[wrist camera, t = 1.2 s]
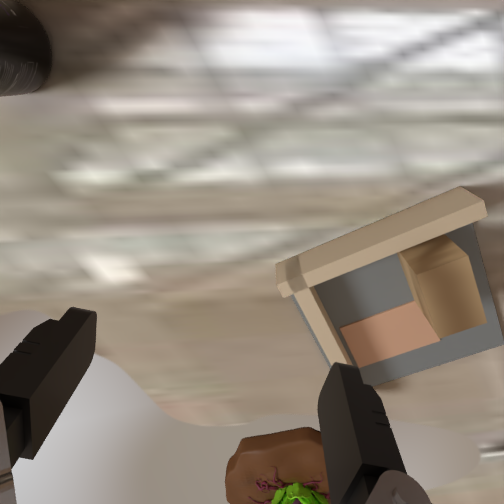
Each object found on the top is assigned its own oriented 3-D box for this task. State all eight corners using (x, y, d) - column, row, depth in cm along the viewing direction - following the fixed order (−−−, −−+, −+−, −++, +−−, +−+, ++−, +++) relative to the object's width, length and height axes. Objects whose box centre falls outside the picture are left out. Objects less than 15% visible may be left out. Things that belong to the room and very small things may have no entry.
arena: (459, 186, 33) (483, 200, 29) (501, 340, 40) (524, 367, 36) (275, 264, 37) (276, 285, 33) (343, 391, 44) (350, 420, 40)
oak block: (436, 226, 34) (468, 255, 28) (454, 285, 36) (487, 322, 31) (393, 243, 35) (416, 275, 29) (414, 300, 37) (439, 338, 32)
